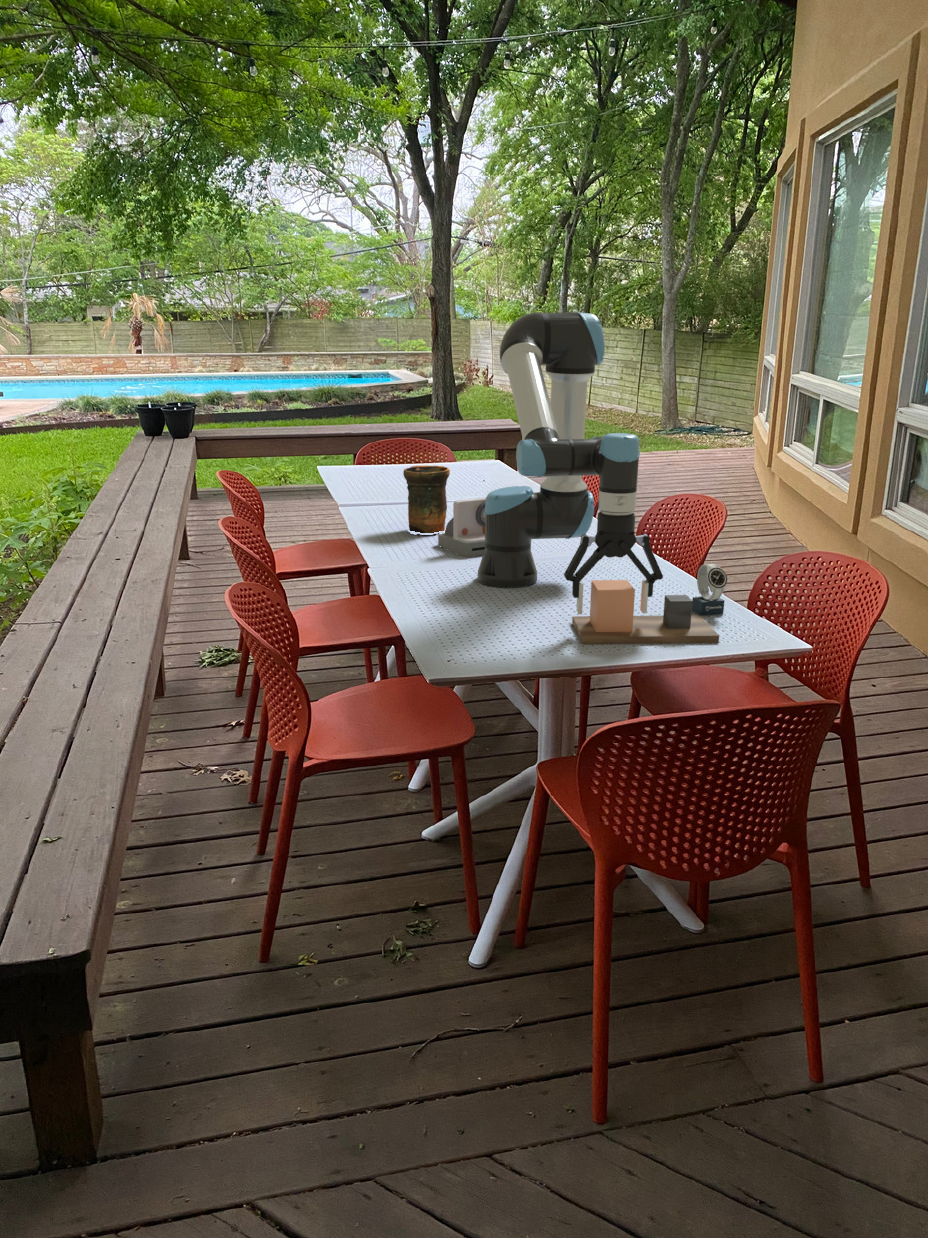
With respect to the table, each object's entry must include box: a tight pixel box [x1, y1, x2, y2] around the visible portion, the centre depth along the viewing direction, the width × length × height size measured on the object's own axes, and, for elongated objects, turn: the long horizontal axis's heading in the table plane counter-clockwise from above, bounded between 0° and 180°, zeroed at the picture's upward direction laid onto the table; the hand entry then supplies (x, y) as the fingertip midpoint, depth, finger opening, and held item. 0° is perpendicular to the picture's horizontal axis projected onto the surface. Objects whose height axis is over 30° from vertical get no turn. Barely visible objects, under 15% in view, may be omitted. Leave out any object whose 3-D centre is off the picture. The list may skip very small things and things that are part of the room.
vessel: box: [402, 464, 451, 533], centre depth 288 cm, size 14×14×20 cm
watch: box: [691, 563, 729, 617], centre depth 208 cm, size 6×8×11 cm
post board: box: [571, 594, 720, 645], centre depth 194 cm, size 14×28×8 cm, turn 93°
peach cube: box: [589, 579, 636, 632], centre depth 193 cm, size 8×8×9 cm
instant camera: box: [437, 497, 486, 558], centre depth 268 cm, size 21×21×15 cm
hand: (611, 612), depth 194 cm, fingers open, 13 cm apart
